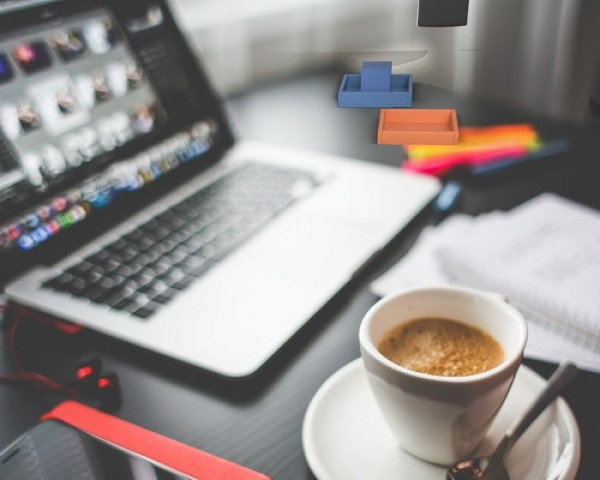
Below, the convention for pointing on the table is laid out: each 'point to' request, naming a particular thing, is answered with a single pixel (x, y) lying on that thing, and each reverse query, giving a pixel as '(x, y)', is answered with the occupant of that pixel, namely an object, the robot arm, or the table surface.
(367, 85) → the blue block
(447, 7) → the battery charger
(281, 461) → the table surface
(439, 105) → the table surface
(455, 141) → the orange tray
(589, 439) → the table surface
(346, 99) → the blue tray
